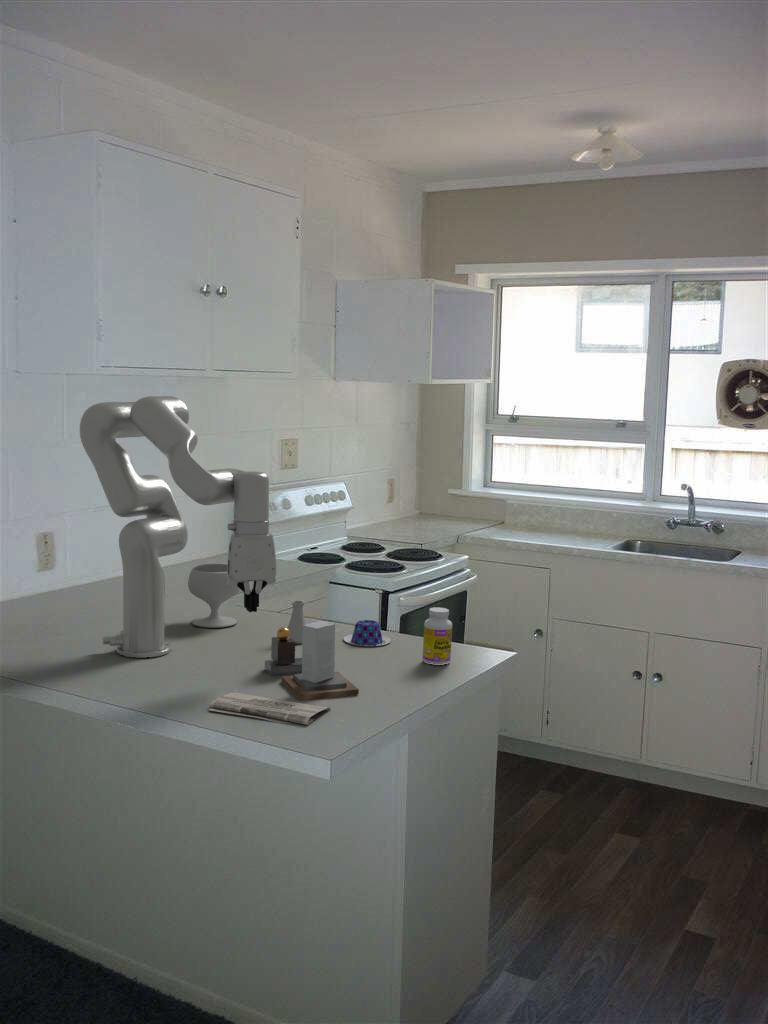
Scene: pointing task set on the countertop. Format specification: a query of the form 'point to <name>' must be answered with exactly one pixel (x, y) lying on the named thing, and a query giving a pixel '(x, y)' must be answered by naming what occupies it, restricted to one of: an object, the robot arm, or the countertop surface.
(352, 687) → the tray
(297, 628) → the flask
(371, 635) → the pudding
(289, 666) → the rail
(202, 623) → the chalice
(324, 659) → the skincare box
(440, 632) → the supplement bottle
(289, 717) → the newspaper
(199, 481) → the robot arm
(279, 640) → the handle
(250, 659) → the countertop surface
